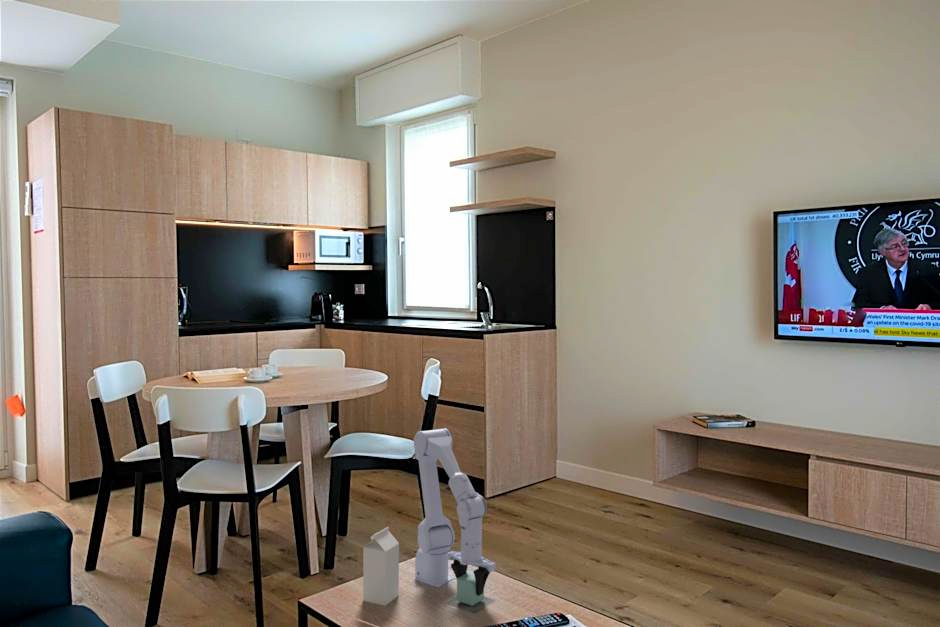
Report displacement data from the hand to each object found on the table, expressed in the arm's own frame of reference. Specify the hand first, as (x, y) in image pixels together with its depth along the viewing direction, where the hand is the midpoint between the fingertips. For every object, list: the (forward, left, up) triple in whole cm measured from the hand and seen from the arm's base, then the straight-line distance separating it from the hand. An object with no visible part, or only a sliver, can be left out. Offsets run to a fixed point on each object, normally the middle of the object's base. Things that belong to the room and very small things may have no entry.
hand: (470, 591), depth 185 cm
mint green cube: (0, 0, -2) cm, 2 cm away
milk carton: (-21, -13, -3) cm, 25 cm away
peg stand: (0, 0, -3) cm, 3 cm away
